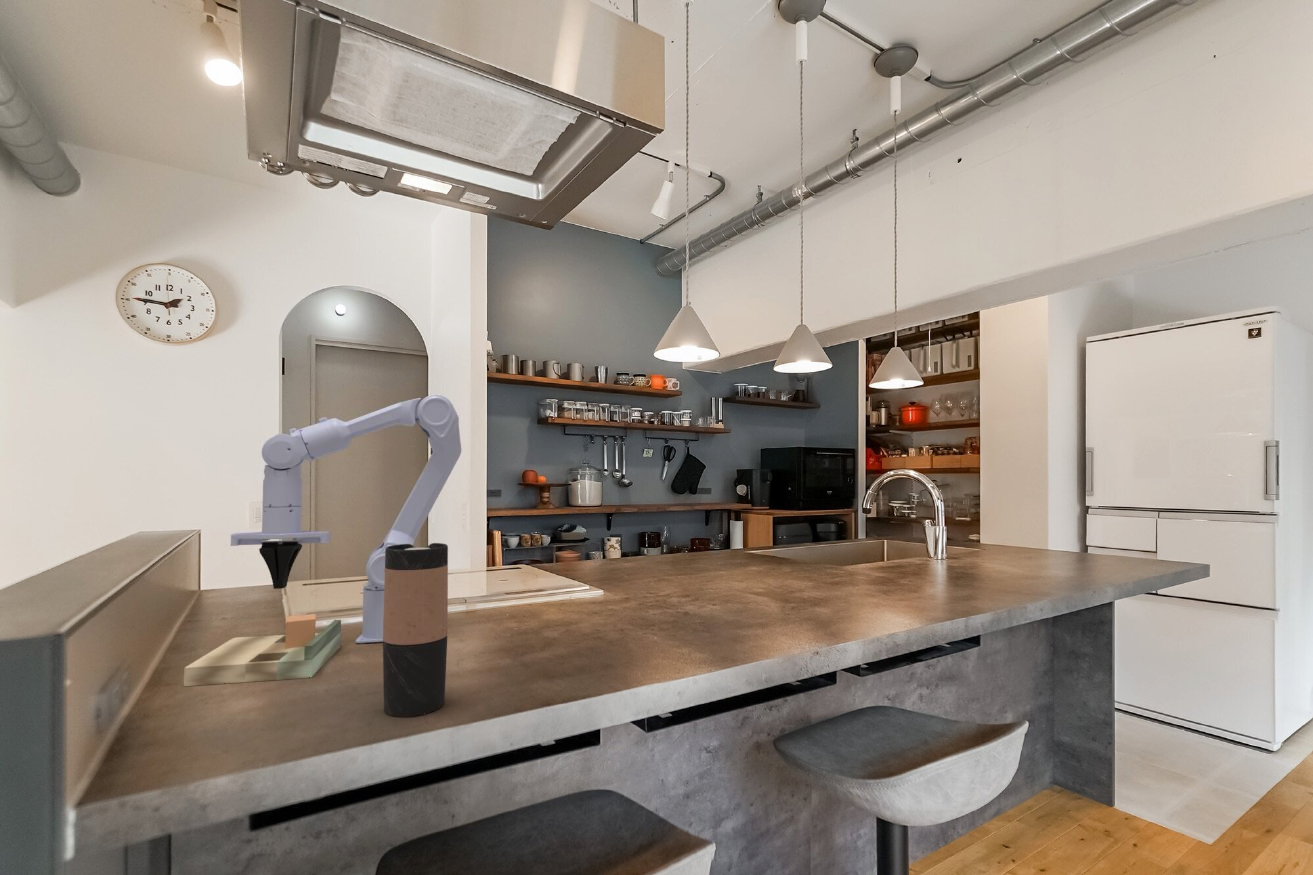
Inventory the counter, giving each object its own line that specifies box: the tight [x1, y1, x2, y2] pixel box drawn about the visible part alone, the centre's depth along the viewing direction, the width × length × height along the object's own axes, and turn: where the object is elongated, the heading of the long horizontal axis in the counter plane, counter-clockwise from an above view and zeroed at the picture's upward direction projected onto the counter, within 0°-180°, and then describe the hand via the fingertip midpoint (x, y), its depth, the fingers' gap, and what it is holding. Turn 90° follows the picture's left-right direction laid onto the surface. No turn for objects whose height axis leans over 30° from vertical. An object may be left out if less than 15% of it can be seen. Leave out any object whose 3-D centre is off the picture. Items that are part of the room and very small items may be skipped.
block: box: [285, 613, 317, 649], centre depth 99 cm, size 4×4×4 cm
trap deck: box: [183, 619, 342, 687], centre depth 97 cm, size 16×16×4 cm
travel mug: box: [382, 542, 449, 718], centre depth 80 cm, size 8×8×20 cm
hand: (280, 587), depth 107 cm, fingers closed
